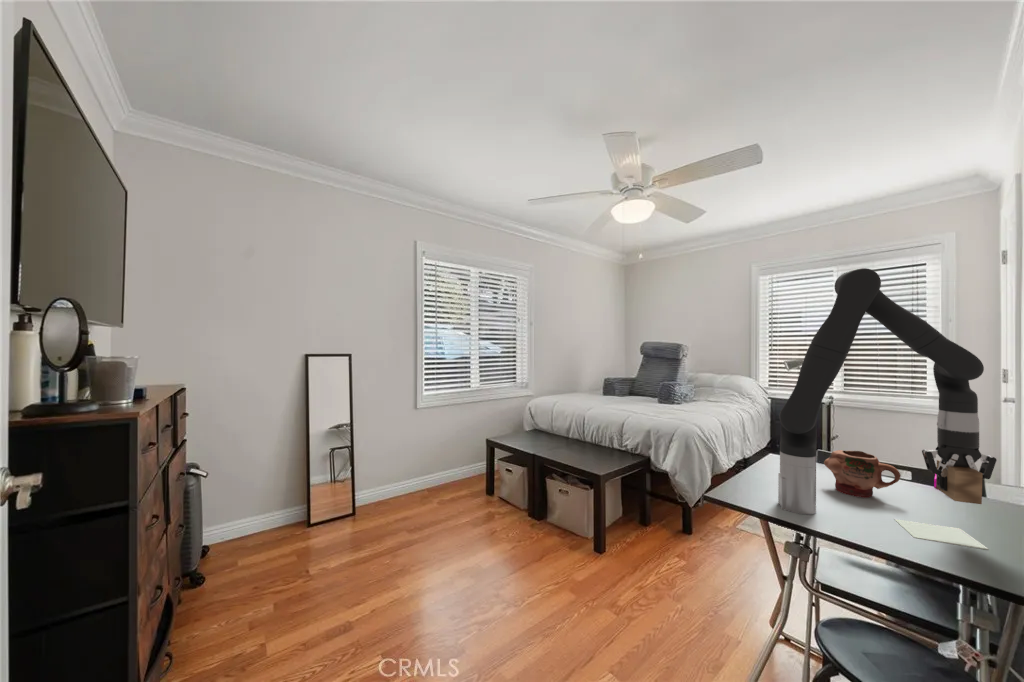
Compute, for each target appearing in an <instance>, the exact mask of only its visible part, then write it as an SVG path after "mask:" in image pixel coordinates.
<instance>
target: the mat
mask: <svg viewBox="0 0 1024 682" xmlns="http://www.w3.org/2000/svg"><path fill="white" fill-rule="evenodd" d="M893 520H894V521H895V522H896V523H897V524H898V525H900V526H901V527H902V528H903V530H905V531H906V532H907V533H908V534H909V535H910V536H912V537H913V538H914V539H919V540H924V541H926V540H927V541H932V542H937V543H938V542H939V543H943V544H950V545H955V546H962V547H967V548H968V547H969V548H974V549H981V550H987V551H989V548H988V547H986V546H985V545H984V544H982V543H981V542H980V541H979V540H977V539H975V538H974V537H972V536H971V535H970V534H968V533H967V532H965V531H964V530H963V529H961V527H960V528H959V527H951V526H946V525H945V526H944V525H937V524H930V523H923V522H917V521H911V520H905V519H904V520H903V519H896V518H893Z"/></svg>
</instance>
